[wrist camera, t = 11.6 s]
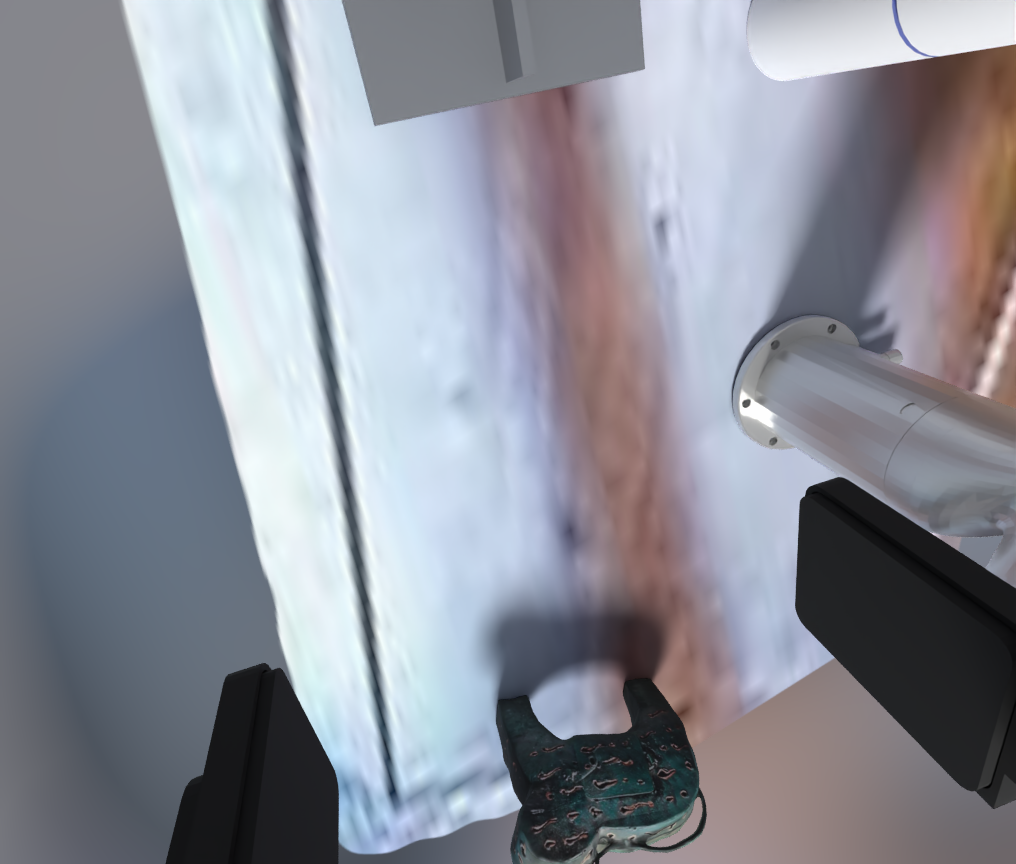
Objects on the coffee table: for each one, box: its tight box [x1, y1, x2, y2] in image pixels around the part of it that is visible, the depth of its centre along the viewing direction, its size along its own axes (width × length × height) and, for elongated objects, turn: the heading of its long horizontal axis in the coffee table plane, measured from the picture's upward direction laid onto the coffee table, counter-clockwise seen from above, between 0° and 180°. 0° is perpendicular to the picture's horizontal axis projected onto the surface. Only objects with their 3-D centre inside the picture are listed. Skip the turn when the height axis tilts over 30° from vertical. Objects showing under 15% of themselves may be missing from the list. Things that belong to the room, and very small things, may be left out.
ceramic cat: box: [496, 678, 707, 864], centre depth 56 cm, size 20×6×20 cm, turn 85°
